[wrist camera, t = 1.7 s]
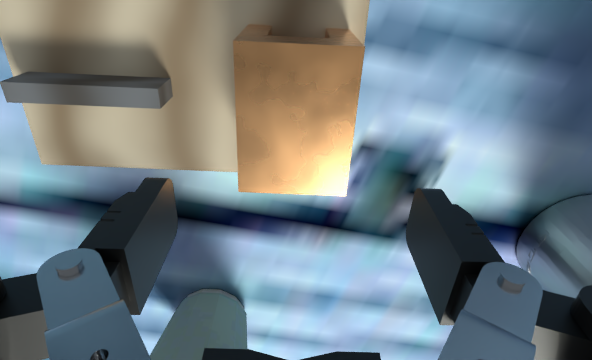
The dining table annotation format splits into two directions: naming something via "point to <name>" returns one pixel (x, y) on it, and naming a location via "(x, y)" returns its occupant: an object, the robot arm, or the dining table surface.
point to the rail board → (143, 74)
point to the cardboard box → (295, 110)
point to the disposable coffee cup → (203, 326)
